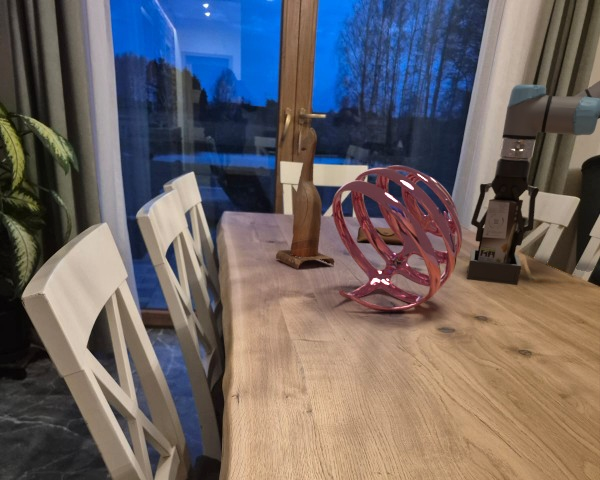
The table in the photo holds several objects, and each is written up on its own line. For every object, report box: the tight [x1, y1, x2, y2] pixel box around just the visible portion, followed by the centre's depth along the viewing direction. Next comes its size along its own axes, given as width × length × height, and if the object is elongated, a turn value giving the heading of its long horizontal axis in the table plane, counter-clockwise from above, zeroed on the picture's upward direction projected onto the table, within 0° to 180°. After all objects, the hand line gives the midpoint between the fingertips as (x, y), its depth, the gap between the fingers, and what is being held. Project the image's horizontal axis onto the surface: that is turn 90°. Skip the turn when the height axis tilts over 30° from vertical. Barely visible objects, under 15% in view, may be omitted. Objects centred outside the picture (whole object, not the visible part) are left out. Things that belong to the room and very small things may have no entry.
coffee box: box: [478, 198, 524, 264], centre depth 143 cm, size 9×6×16 cm
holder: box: [466, 248, 522, 285], centre depth 147 cm, size 12×15×5 cm
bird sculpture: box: [275, 127, 335, 270], centre depth 142 cm, size 11×12×32 cm
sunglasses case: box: [356, 226, 403, 246], centre depth 181 cm, size 18×7×7 cm
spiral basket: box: [331, 164, 463, 313], centre depth 114 cm, size 28×28×27 cm
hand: (495, 256), depth 146 cm, fingers closed on coffee box, 7 cm apart
